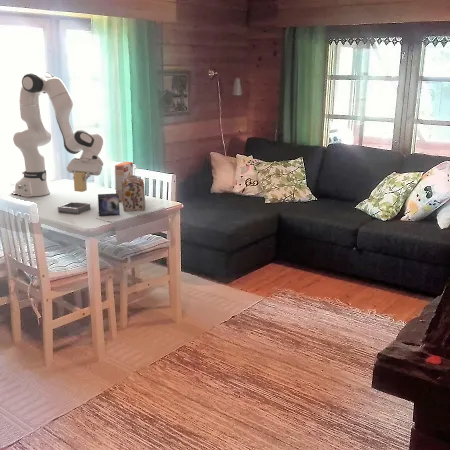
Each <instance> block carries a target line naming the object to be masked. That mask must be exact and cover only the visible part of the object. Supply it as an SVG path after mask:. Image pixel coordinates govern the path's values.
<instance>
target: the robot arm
mask: <svg viewBox="0 0 450 450" xmlns="http://www.w3.org/2000/svg"><path fill="white" fill-rule="evenodd" d="M21 85H22V86H21V87H20V89H19V96H18V97H19V98H18V99H19V110H20V112H19V113H20V119H21V120H22V121H23V122H25V124H26V126H27V129H26V128H25V129H21V130H19V131H16V132H15V133H14V135H13V138H12V139H13V140H12V141H13V144H14V145H15V147H17V148H18V149H19V150H20V152H21V153H22V156H23V159H24V165H25V169H24V171H23V172H22V171H21V173H22V175H23V177H22V178H20V180H18V181H17V182H16V183H15V188H14V190H13V191H12V192H13V193H15V194H18V195H17V196H19V195H21V196H20V197H24V198H25V197H26V198H31V197H41V196H46V195H49V194H50V193H51V192H50V190H49V189H50V188H49V186H48V182H47V170H46V163H45V157H44V155H42V154H41V153H40V151H39V147H43V146H45V145H47V144H49V143H50V142H51V141H52V134H51V132H50V130H48V129H47V128H46V126H45V124H44V121H43V119H42V113H41V102H40V96H41V94H46V95H47V96H48V98H49V100H50V102H51V105H52V107H53V110H54V114H55V118H56V122H57V125H58V127H59V131H60V133H61V136H62V138H63V140H62V141H63V147H64V149H65V150H66V151H67V153H69V154H73V155H75V154H79V153H80V152H81V151H82V152H81V155H80V157H79V158H78V157H77V158H76V157H74V158H73V159H70V161H69V163H68V165H67V166H66V171H67V172H68V173H69V174H73V175H72V179H73V180H74V173H76V172H83V173H86V176H85V177H83V180H84V181H86V182H87V180H88V179H89V178H90V177H91V176H96V177H97V176H100V175H101V173H102V171H103V166H104V162H103V160H102V159H101V158H100V157H99V155H100V154H101V151H102V149H103V146H104V139H103V137H102V136H101V135H100V134H98V133H96V132H95V133H94V132H93V133H90V132H87V131H85V130H83V129H78V130H76V131H75V132H73V130H72V126H71V123H70V114H71V111H72V110H73V106H74V104H73V100H72V96H71V95H70V92H69V90H68V89H67V87H66V85H65V83H64V82H63V81H62V79H61V78H60V77H57V76H55V75H54V74H52V73H49V72H41V71H40V72H38V71H37V72H29V73H26V74H24V75H23V77H22V79H21Z"/></svg>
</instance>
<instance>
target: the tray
mask: <svg viewBox="0 0 450 450" xmlns="http://www.w3.org/2000/svg"><path fill="white" fill-rule="evenodd" d="M89 210H91V203H87V202H76V201H69V202H67V203H64V204H61V205H59V206H57V211H58V213H61V214H69V215H70V214H71V215H81V214H82V213H84V212H88V211H89Z"/></svg>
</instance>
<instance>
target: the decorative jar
mask: <svg viewBox="0 0 450 450" xmlns="http://www.w3.org/2000/svg"><path fill="white" fill-rule="evenodd" d="M121 202H122V209H123V211H124V212H137V210H139V211H146V193H145V183H144V179H143V178H140V177H138V175H134V174H133V175H131V176H128V178H126V179H123V180H122V201H121Z"/></svg>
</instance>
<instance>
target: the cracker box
mask: <svg viewBox="0 0 450 450" xmlns="http://www.w3.org/2000/svg"><path fill="white" fill-rule="evenodd" d="M114 173H115V175H114V176H115V177H114V178H115V194H117V193H118V195H119V202H122V180H123V179H126V178H128V176H131V175H134V162H132V161H123V162H120V163H117V164H116V165H114Z"/></svg>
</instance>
